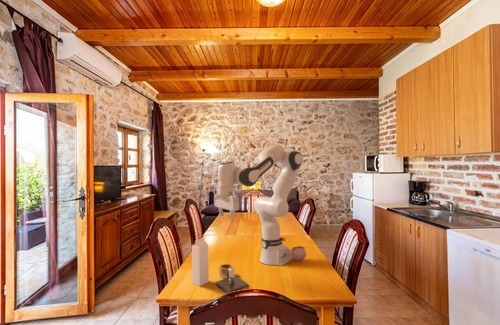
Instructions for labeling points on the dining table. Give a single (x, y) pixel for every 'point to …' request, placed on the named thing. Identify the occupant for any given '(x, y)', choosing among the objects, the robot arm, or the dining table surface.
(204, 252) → the milk
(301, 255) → the decorative fruit
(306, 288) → the dining table surface
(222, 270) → the collar
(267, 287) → the dining table surface
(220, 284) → the grey peg stand
